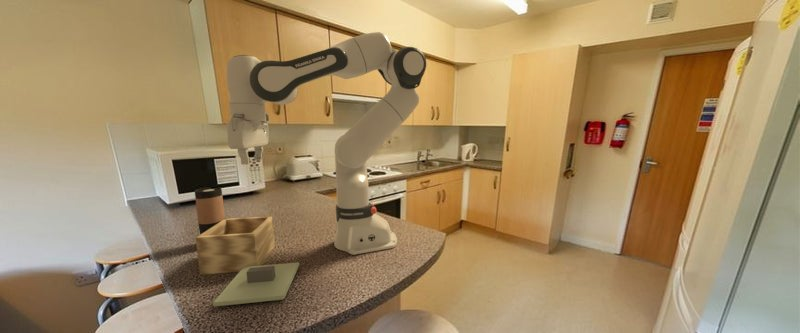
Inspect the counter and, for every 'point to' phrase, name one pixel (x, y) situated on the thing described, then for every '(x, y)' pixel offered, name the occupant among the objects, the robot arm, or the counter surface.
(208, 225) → the travel mug
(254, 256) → the box
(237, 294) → the lid
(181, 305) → the counter surface
